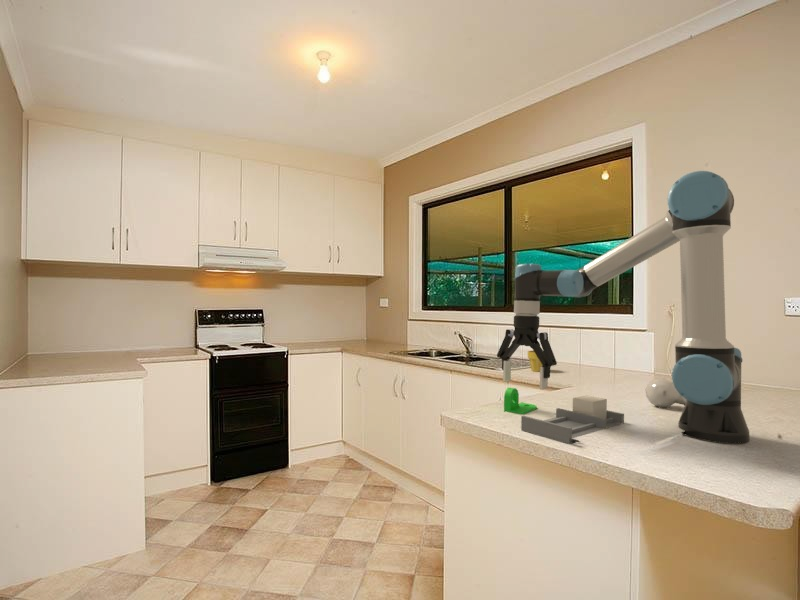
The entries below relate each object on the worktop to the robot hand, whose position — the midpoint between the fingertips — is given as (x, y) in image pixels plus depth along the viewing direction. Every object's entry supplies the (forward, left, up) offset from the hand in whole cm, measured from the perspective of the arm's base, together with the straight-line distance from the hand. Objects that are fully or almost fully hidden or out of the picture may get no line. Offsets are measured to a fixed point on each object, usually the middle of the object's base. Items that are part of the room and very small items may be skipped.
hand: (524, 385), depth 138 cm
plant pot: (+52, -78, -9) cm, 94 cm away
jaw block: (-18, -5, -7) cm, 20 cm away
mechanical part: (+1, 0, -9) cm, 9 cm away
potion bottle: (-22, -47, -9) cm, 53 cm away
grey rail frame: (-18, +3, -9) cm, 20 cm away
